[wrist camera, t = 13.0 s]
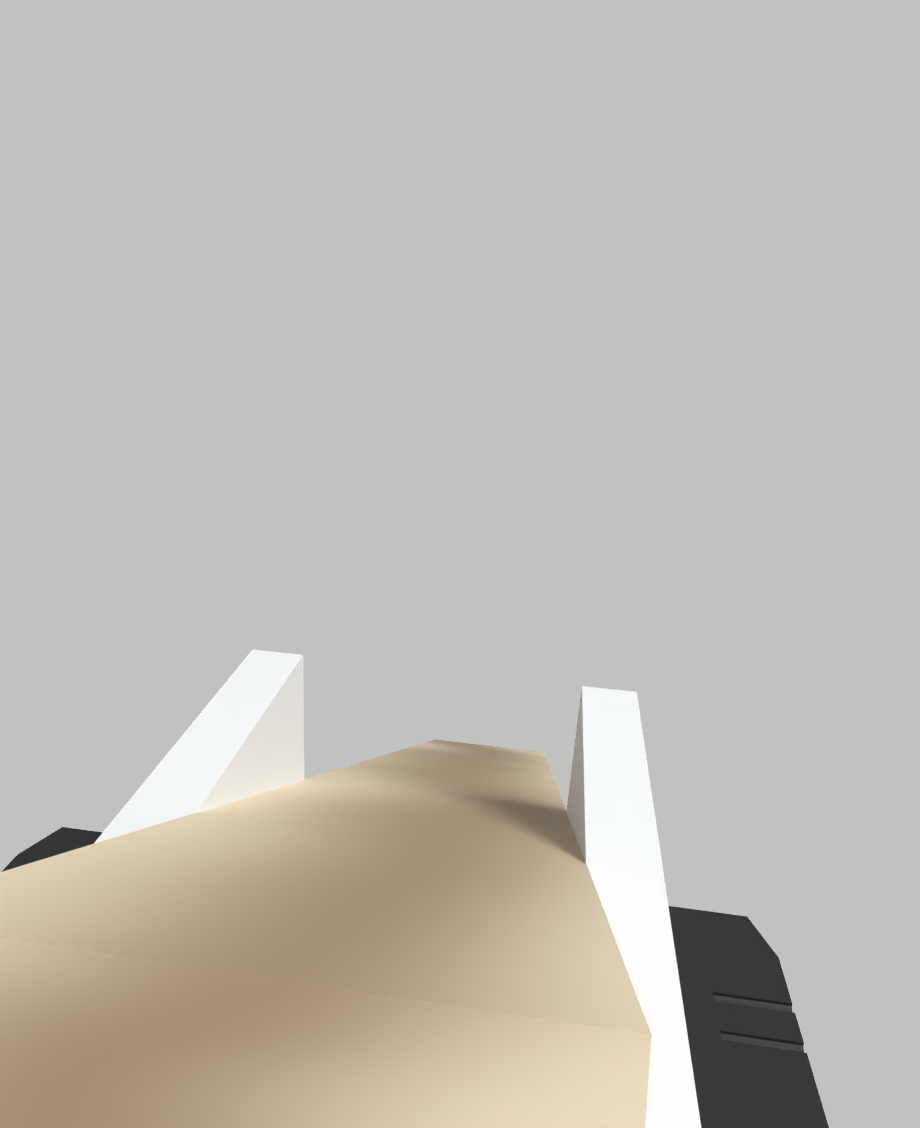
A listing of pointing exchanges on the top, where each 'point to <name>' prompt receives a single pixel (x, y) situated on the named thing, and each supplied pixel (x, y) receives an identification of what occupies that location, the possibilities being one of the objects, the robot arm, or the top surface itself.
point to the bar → (326, 962)
